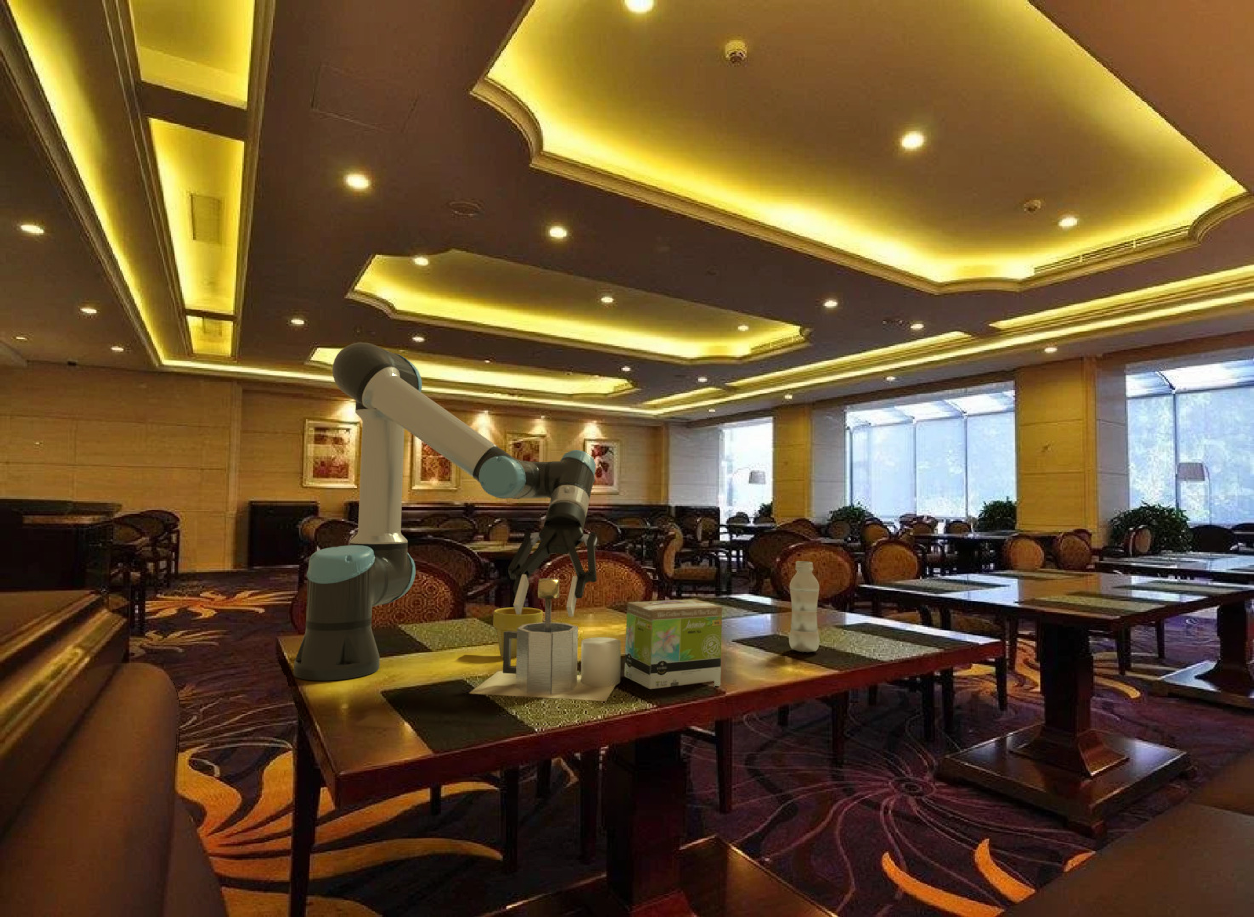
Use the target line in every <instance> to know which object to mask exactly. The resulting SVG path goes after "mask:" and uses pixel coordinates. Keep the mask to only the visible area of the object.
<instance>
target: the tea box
mask: <svg viewBox="0 0 1254 917" xmlns="http://www.w3.org/2000/svg"><path fill="white" fill-rule="evenodd" d="M625 624H626V625H625V626H626V627H625V649H624V650H625V652H624V653H625V656H624V660H625V661H624V677H625V678H627V679H630V680H631V681H633V682H636V683H637V684H639V685H641V686H643V687H645V688H647V689H650V690H652V689H661V688H662V689H663V688H669V687H670V688H671V687H677V686H684V685H685V686H686V685H695V684H701V683H707V682H714V683H713V688H716V687H715V686H719V687H720V686H721V676H722V675H721V673H722V671H721V670H722V668H721V667H722V636H723V635H722V628H723V625H722V624H723V607H722V606H720V605H718V604H712V603H709V602H707V601H703V600H699V599H682V600H681V599H673V600H652V601H650V600H649V601H648V600H647V601H629V602H627V607H626V622H625Z"/></svg>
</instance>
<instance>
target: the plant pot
mask: <svg viewBox="0 0 1254 917" xmlns="http://www.w3.org/2000/svg"><path fill="white" fill-rule="evenodd" d="M543 615H544V611H543V610H542V609H539V608H533V607H523V608H522V612H521V615H519V614H516V611H515V608H514V606H513V607H503V608H502V607H501V608H497V609H494V611H493V619H492V620H493V621H492V622H493V623H492V624H493V628H495V631H496V635H497V636H496V637H497V643H498V649H499V653H500V658H501V657H502V658H503V644H504V632H505V631H517V628H519V627H520V626H522V625H524V624H531V623H541V622H544V621H543V617H544V616H543ZM511 658H517V639H515V638H511Z"/></svg>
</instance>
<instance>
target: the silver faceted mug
mask: <svg viewBox="0 0 1254 917" xmlns="http://www.w3.org/2000/svg"><path fill="white" fill-rule="evenodd" d="M578 632H579V626H577V625H574V624H570V623H568V622H552V621H551V632H545V621H542V622H541V623H531V624H524V625H522V626H520V627H519V628H517V631H505V632H504V644H503V657H502V671H503V673H510V674H516V688H517V689H519V690H521V691H523V692H525V693H528V694H544V695H553V694H558V693H564V692H569V691H572V690H573V689H574V688H575V687H576V685H577V675H578V650H579V649H578V645H579V644H578V643H579V642H578V641H579V640H578V638H579V633H578ZM511 638H515V639H517V657H516V660H515V661H516V662H515V663H516V665H512V662H511V661H512V657H511Z"/></svg>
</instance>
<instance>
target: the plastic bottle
mask: <svg viewBox="0 0 1254 917" xmlns="http://www.w3.org/2000/svg"><path fill="white" fill-rule="evenodd" d="M813 564H814V563H813V562H812V561H806V560H805V561H802V560H801V561H799V560H798V561H795V570H796V573H795V574H794V575H793V577H792V578H791V580H790V583H789V592H790V593H789V594H790V600H791V623H790V631H789V634H788V643H789V646H790V648H791V649H792V650H794V651H796V652H801V653H804V652H806V653H811V652H817V650H818V649H819V646H820V636H819V635H820V634H819V631H818V618H817V617H818V615H817V614H818V611H817V610H818V602H819V601H818V600H819V594H820V592H819V591H820V584H819V581H818V579H817V577H815V575H814V574H813V571H814V565H813Z"/></svg>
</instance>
